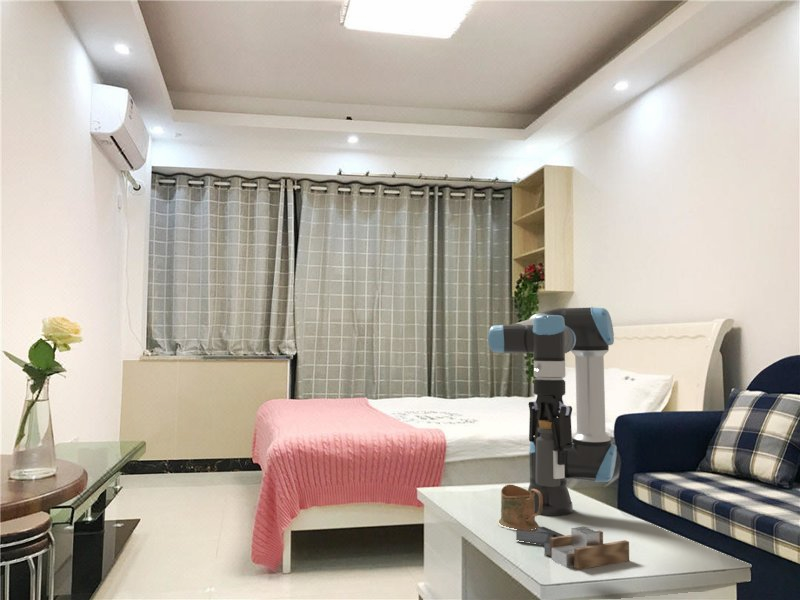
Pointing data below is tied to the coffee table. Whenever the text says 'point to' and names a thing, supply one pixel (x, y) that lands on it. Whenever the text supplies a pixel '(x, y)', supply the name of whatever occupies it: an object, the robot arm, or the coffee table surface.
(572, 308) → the robot arm
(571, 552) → the grey stepped block
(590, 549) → the parallel wooden rails
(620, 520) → the coffee table surface
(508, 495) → the mug
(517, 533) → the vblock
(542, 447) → the bottle
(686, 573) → the coffee table surface
